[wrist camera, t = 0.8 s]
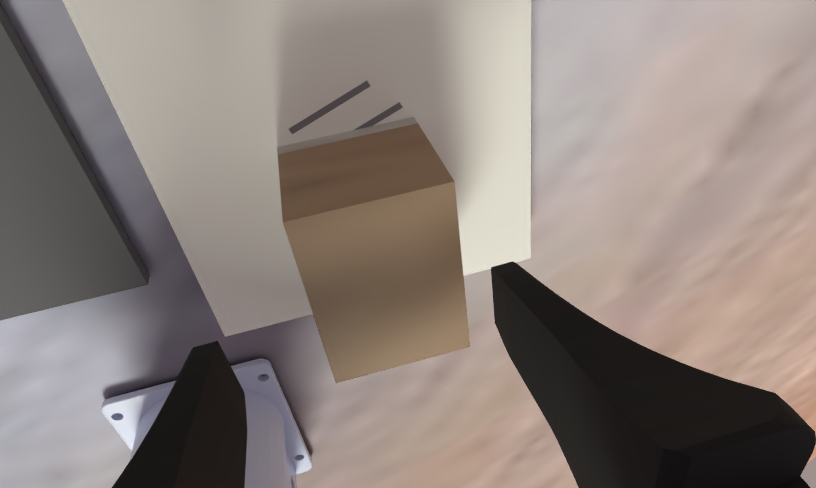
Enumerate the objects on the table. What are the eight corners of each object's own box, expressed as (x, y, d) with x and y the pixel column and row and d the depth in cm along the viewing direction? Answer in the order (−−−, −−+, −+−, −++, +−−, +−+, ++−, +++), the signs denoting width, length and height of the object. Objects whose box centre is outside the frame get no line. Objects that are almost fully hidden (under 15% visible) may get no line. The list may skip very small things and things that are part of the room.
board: (517, 240, 26) (530, 258, 25) (226, 313, 24) (225, 336, 23) (510, -268, 15) (532, -280, 14) (-8, -191, 14) (-33, -196, 13)
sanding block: (434, 265, 24) (470, 346, 20) (322, 294, 23) (335, 383, 19) (413, 116, 20) (454, 181, 16) (277, 147, 19) (282, 222, 15)
